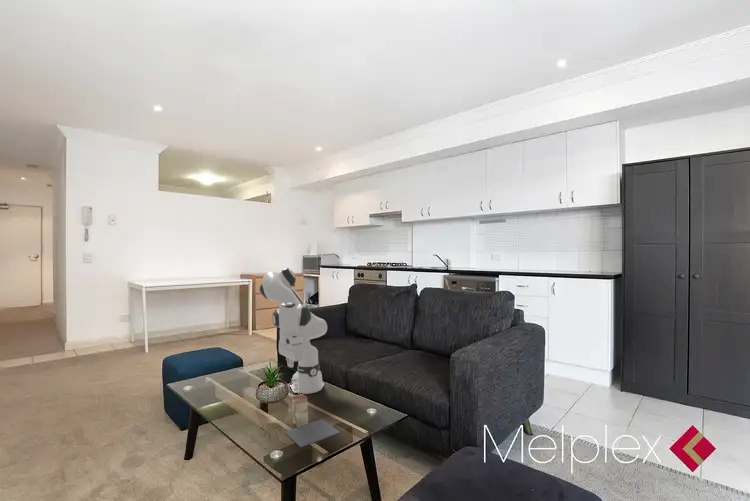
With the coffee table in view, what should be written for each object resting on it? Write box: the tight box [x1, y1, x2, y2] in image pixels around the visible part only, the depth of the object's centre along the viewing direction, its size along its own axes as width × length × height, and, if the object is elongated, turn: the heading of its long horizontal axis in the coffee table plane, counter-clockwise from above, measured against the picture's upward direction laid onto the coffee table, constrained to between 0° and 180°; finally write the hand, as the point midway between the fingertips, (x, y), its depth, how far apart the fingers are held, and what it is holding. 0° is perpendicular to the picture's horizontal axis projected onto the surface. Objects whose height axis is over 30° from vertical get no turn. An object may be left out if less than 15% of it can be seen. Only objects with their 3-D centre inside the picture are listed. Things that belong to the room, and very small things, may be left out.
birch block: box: [291, 393, 309, 428], centre depth 164 cm, size 5×5×12 cm
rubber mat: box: [284, 418, 341, 448], centre depth 155 cm, size 16×18×1 cm
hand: (290, 366), depth 172 cm, fingers closed
